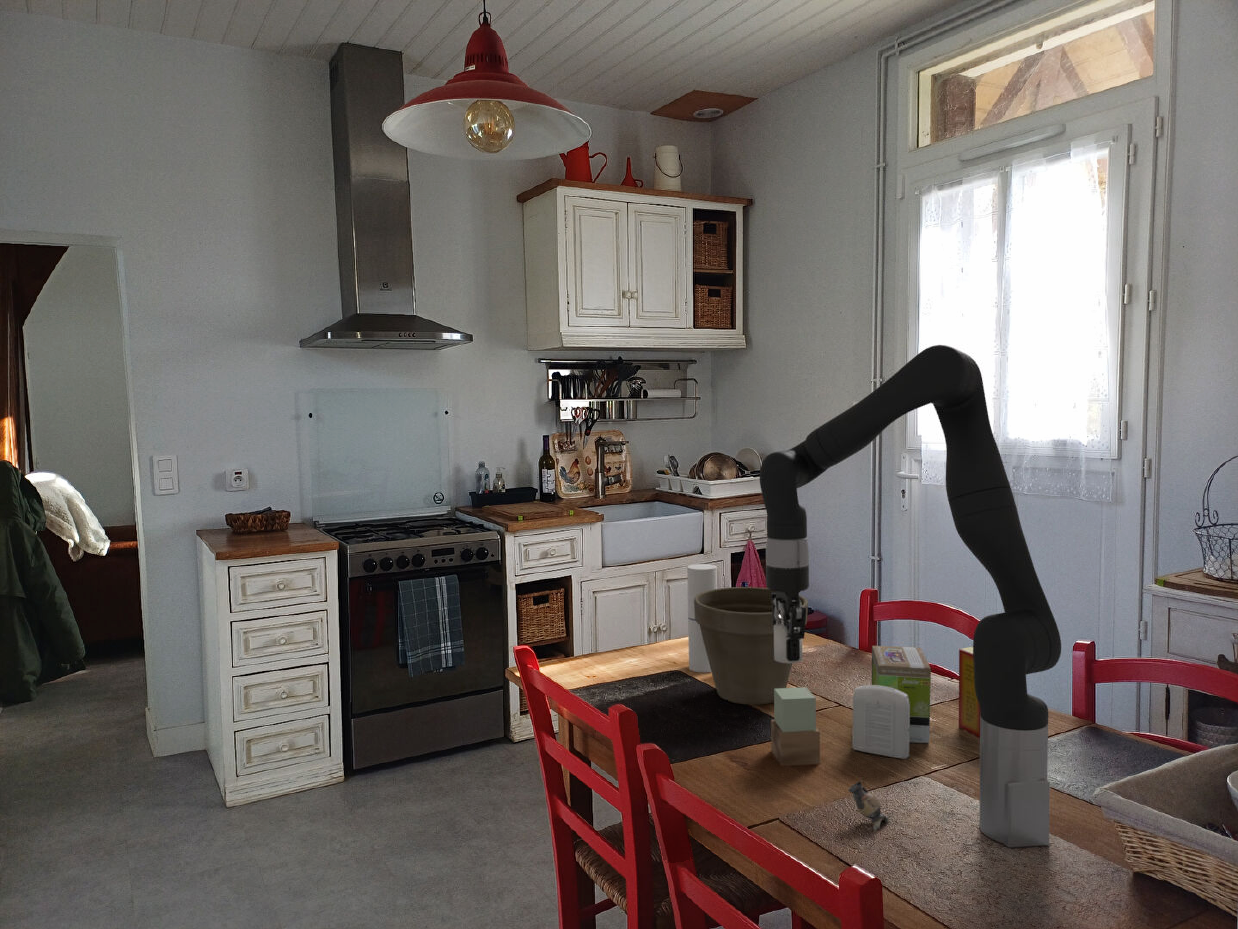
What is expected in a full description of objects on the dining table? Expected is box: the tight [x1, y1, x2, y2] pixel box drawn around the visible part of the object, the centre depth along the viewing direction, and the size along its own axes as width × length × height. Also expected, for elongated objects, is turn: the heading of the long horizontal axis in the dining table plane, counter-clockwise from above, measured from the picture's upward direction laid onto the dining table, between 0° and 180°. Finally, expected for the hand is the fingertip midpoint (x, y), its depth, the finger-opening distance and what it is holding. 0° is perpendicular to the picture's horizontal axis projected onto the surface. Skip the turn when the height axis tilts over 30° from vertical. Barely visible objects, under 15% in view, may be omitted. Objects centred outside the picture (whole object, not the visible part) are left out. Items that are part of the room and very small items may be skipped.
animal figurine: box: [847, 781, 890, 832], centre depth 138 cm, size 5×5×6 cm
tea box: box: [871, 645, 932, 744], centre depth 176 cm, size 15×10×15 cm
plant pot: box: [694, 586, 809, 706], centre depth 198 cm, size 25×25×22 cm
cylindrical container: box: [686, 563, 718, 673], centre depth 218 cm, size 7×7×25 cm
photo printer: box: [851, 684, 910, 760], centre depth 165 cm, size 10×4×12 cm, turn 60°
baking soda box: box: [958, 646, 980, 739], centre depth 175 cm, size 10×6×16 cm
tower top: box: [773, 686, 817, 732], centre depth 163 cm, size 6×6×6 cm
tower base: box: [770, 719, 821, 767], centre depth 164 cm, size 7×7×6 cm
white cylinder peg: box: [774, 623, 803, 664], centre depth 161 cm, size 5×5×6 cm
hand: (788, 655), depth 161 cm, fingers closed on white cylinder peg, 5 cm apart
